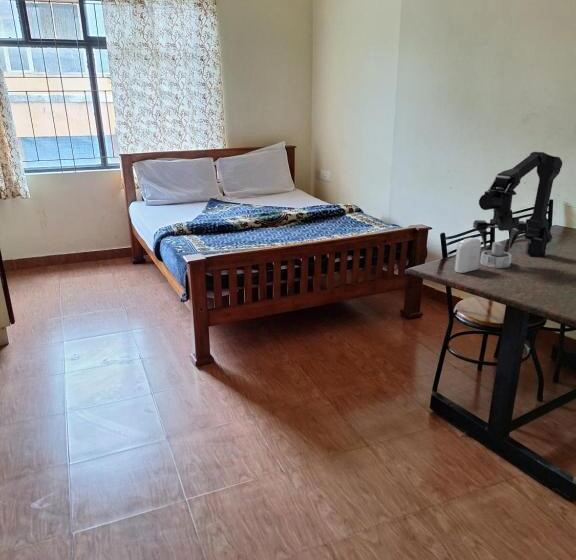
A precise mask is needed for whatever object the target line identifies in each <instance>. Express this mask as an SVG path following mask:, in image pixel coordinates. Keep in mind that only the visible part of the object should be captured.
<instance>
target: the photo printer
mask: <svg viewBox="0 0 576 560" xmlns="http://www.w3.org/2000/svg"><path fill="white" fill-rule="evenodd" d="M481 249H482V242H481V240H480V239H479V238H475V237H468V238H464V239H463V240H460V241H459V242H457V246H456V251H455V252H456V253H455V260H454V261H455V262H454V272H456V273H458V274H462V273H463V274H464V273H468V272H472V271H476V270H478V269H479V265H480V258H481Z"/></svg>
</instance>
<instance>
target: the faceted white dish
mask: <svg viewBox="0 0 576 560" xmlns="http://www.w3.org/2000/svg"><path fill="white" fill-rule="evenodd" d="M487 252H492V249H489V250H483V251H482V252H481V251H480V259H479V264H481V265H482V266H485V267H488V268H495V269H496V268H498V269H504V268H505V269H506V268H509V267H510V266H511V263H512V257H513V256H512V253H510V252H508V251H507V252H506V251H504V250H502V253H505V254H506V257H494V256H489V255H487Z"/></svg>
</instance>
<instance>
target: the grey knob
mask: <svg viewBox="0 0 576 560" xmlns="http://www.w3.org/2000/svg"><path fill="white" fill-rule="evenodd" d="M503 249H504V245H503V244H501V242H500V241H499V242H498V241H496V242H495V241H493V242H492V245H491V250H492V252H487V255H489V256H494V257H506V254H505V253H502V251H503Z"/></svg>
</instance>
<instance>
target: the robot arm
mask: <svg viewBox="0 0 576 560" xmlns="http://www.w3.org/2000/svg"><path fill="white" fill-rule="evenodd" d="M562 166H563V160H562V159H561V157H560V156H555V155H554V156H553V155H551V154H547V153H546V152H543V151H532V152H530V154H529V155H528V156H527V157H525V158H524V159H523V160H522V161H520V162H519V163H518V164H516V165H515V166H514V167H511V168H510V169H507V170H503V171H501V172H499V173H497V174H496V175H495V178H494V179H493V181H492V183H491V185H490V186H489V187H488V189H487V190H485V191H484V194H482V195H481V196H480V197H479V200H478V205H479V207H480V209H481V210H483V211H488V210H489V211H490V210H492V211H493V216H492V219H491V222H487V221H486V220H481V219H480V220H479V219H478V220H476V219H475V220H474V221H473V223H472V228H473V229H474V230H475V231H477V232H478V233H479V234H480V237H481V240H482V243H483V247H484V248H487V242H488V241H487V239H488V238H487V236H488V231H489V230H487V229H498V231H501V232H504V231H505V232H506V231H508V232H510V235H509V241H508V249H511V248H512V247H513V245H514V243H515V241H516V239H517V238H518V237H519V236H520V235H522V234H524V238H525V240H527V241H528V242H526V246H525V251H524V253H525V254H527V256H528V257H536V258H537V257H538V258H539V257H541V258H547V255H546V250H547V244H550V242H552V238H553V235H552V233H551V231H550V230H549V229H550V228H549V226H550V222H549V221H548V218H547V214H548V208H549V203H550V200H551V195H552V189H553V185H554V180H555V179H556V178H557V177H558V176H559V174H560V173H561V168H562ZM535 168H536V173H537V176H538V180H539V181H538V186H537V189H536V195H535V199H534V206H533V209H532V210H533V212H532V214H531V216H530V217H529V218H527V219H526V220H525V221H523V220H522V221H521V220H520V218H519V217H518V216H517V217H516V216H515V217H514V216H513V217H512V211H511V210H512V202H513V196H515V195H517V192H516V191H515V190H516V188H517V187H518V186H519V185H520V183H521V179H522V178H524V177H525V176H526V175H527V174H529V173H530V172H531V171H533V170H534V169H535Z"/></svg>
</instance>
